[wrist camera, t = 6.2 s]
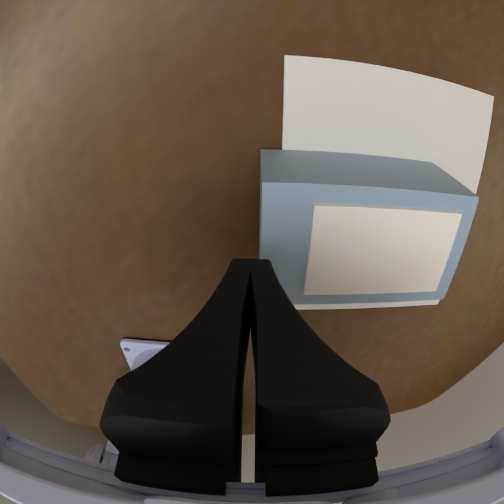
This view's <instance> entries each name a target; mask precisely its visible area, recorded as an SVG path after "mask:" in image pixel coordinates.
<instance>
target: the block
mask: <svg viewBox="0 0 504 504" xmlns="http://www.w3.org/2000/svg"><path fill="white" fill-rule="evenodd" d="M478 200H479V197H478V196H477V195H476V194H474V193H473V192H472V191H471V190H469V189H468V188H467V187H465V186H464V185H463V184H461V183H460V182H459V181H457V180H456V179H455V178H453V177H452V176H451V175H449V174H448V173H447V172H445V171H444V170H442V169H441V168H440V167H438V166H437V165H435V164H434V163H432V162H426V161H419V160H412V159H404V158H395V157H386V156H376V155H366V154H354V153H341V152H326V151H307V150H278V149H261V159H260V228H259V259H269V260H270V261H271V263H272V266H273V269H274V271H275V274H276V276H277V278H278V280H279V282H280V284H281V286H282V287H283V289H284V291H285V292H286V294H287V296H288V298H289V299H290V301H291V302H292V304H351V303H381V302H403V301H422V300H439V299H444V297H445V295H446V292H447V290H448V288H449V285H450V283H451V280H452V278H453V275H454V273H455V270H456V268H457V265H458V262H459V260H460V257H461V254H462V251H463V248H464V246H465V243H466V240H467V237H468V234H469V231H470V227H471V224H472V221H473V218H474V214H475V211H476V207H477V204H478Z"/></svg>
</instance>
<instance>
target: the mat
mask: <svg viewBox="0 0 504 504" xmlns="http://www.w3.org/2000/svg"><path fill="white" fill-rule="evenodd" d="M493 100H494V96H491V95H488V94H485V93H482V92H480V91H477V90H474V89H471V88H468V87H464V86H461V85H458V84H455V83H451V82H448V81H444V80H441V79H437V78H433V77H429V76H425V75H421V74H417V73H413V72H408V71H404V70H399V69H394V68H389V67H383V66H378V65H372V64H366V63H359V62H352V61H345V60H336V59H327V58H317V57H304V56H288V55H284V84H283V123H282V150H307V151H326V152H341V153H354V154H366V155H376V156H386V157H395V158H404V159H412V160H419V161H426V162H432V163H434V164H435V165H437V166H438V167H440V168H441V169H442V170H444V171H445V172H447V173H448V174H449V175H451V176H452V177H453V178H455V179H456V180H457V181H459V182H460V183H461V184H463V185H464V186H465V187H467V188H468V189H469V190H471V191H472V192H473V193H474V194H476V191H477V188H478V184H479V179H480V175H481V171H482V166H483V162H484V157H485V152H486V146H487V141H488V135H489V129H490V123H491V116H492V108H493ZM439 300H440V299H439ZM439 300H422V301H403V302H381V303H351V304H293V305H294V307H295V308H296V309H297V310H309V309H354V308H380V307H401V306H418V305H433V304H438V302H439Z"/></svg>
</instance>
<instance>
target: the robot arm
mask: <svg viewBox="0 0 504 504" xmlns="http://www.w3.org/2000/svg"><path fill="white" fill-rule="evenodd" d="M250 327H251V337H252V348H253V359H254V369H255V384H256V407H255V483H241V455H242V411H243V383H244V373H245V366H246V358H247V350H248V343H249V335H250ZM120 346H121V348H122V350H123V353H124V355H125V357H126V360H127V362H128V364H129V366H130V369H131V371H130V372H129V373H127V374H126V375H124V376H122V377H121V378H119V379H117V380H116V381H115V384H114V386H113V388H112V390H111V391H110V394H109V396H108V398H107V401H106V404H105V407H104V410H103V413H102V416H101V420H100V428H101V430H102V432H103V433H104V435H105V436H106V437H107V439H108V443H107V447H106V450H105V446H104V445H101V444H96V446H94V447H91V448H89V450H88V452H87V454H86V456H85V459H83V458H80V457H76V456H73V455H70V454H66V453H63V452H60V451H57V450H54V449H51V448H48V447H46V446H43V445H40V444H37V443H35V442H32V441H30V440H27V439H25V438H22V437H20V436H17V435H15V434H12V433H10V432H8V430H7V429H6V428H5V427H4V426H3V425H2V424H1V423H0V494H1V495H3V496H5V497H7V498H8V499H10V500H12V501H14V502H16V503H18V504H332V503H337V502H343V503H342V504H496V503H498V502H499V501H501V500H503V499H504V428H502V429H501V430H499V431H498V432H497V433H496V434H494V435H493V436H492V437H491V439H490V440H488V441H485V442H483V443H480V444H478V445H475V446H472V447H469V448H466V449H464V450H461V451H458V452H455V453H452V454H448V455H445V456H442V457H439V458H435V459H431V460H428V461H424V462H420V463H416V464H413V465H409V466H404V467H400V468H395V469H390V470H386V471H381V472H378V471H377V466H376V460H375V457H377V455H378V451H377V445H376V441H377V440H378V439H379V438H380V436H381V435H382V434H383V433H384V431H385V430H386V429H387V427H388V425H389V423H390V413H389V409H388V406H387V403H386V401H385V399H384V396H383V394H382V392H381V390H380V387H379V385H378V384H377V383H376V382H374V381H373V380H371V379H370V378H368V377H366V376H365V375H363V374H362V373H360V372H359V371H357V370H356V369H354V368H353V367H352V366H350V365H349V364H348V363H347V362H345V361H344V360H343V359H342V358H341V357H340V356H338V355H337V354H336V353H335V352H334V351H333V350H332V349H331V348H330V347H329V346H328V345H326V344H325V343H324V342H323V341H322V340H321V339H320V337H319V336H318V335H317V334H316V333H315V332H314V331H313V330H312V329H311V327H310V326H309V325H308V324H307V323H306V322H305V320H304V319H303V318H302V316H301V315H300V314H299V312H298V311H297V309H296V308H295V307H294V305H293V304H292V302H291V301H290V299H289V298H288V296H287V294H286V292H285V291H284V289H283V287H282V286H281V284H280V282H279V280H278V278H277V276H276V274H275V271H274V269H273V266H272V263H271V261H270V260H269V259H233V260H232V261H231V262H230V265H229V267H228V269H227V271H226V273H225V275H224V277H223V279H222V280H221V282H220V284H219V285H218V287H217V288H216V290H215V291H214V293H213V295H212V296H211V297H210V299H209V300H208V301H207V303H206V304H205V305H204V307H203V308H202V309H201V311H200V312H199V313H198V314H197V316H196V317H195V318H194V319H193V320H192V321H191V322H190V323H189V324H188V326H187V327H186V328H185V329H184V330H183V331H182V332H181V333H180V334H179V335H178V336H176V337H175V338H174V339H173V340H172V341H171V342H159V341H146V340H135V339H122V340H121V342H120Z"/></svg>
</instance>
